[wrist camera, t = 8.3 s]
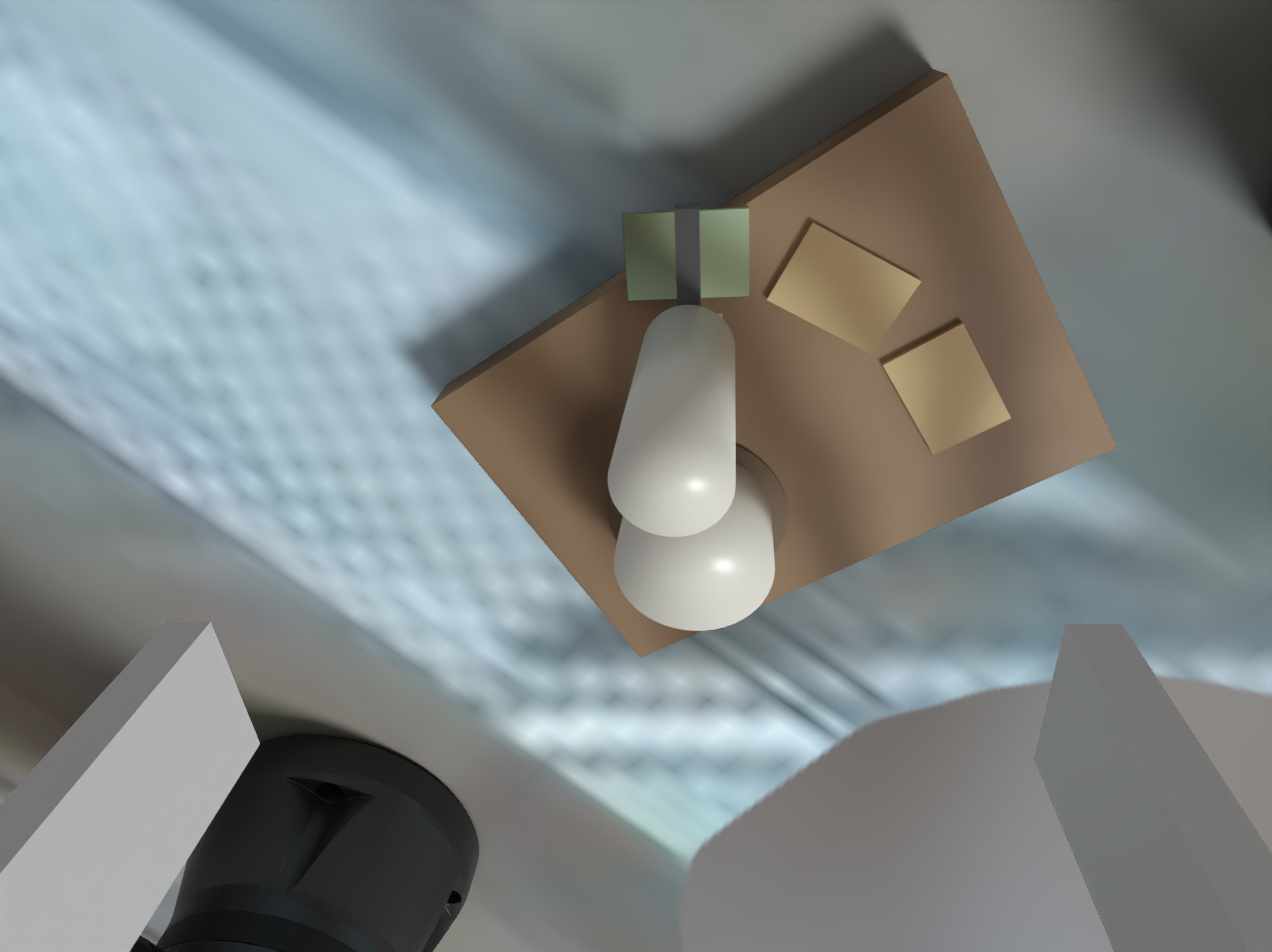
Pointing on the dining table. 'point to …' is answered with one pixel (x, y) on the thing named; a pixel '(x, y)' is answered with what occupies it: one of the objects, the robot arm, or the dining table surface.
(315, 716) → the dining table surface
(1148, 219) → the dining table surface
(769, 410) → the board
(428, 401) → the dining table surface
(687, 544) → the peg
